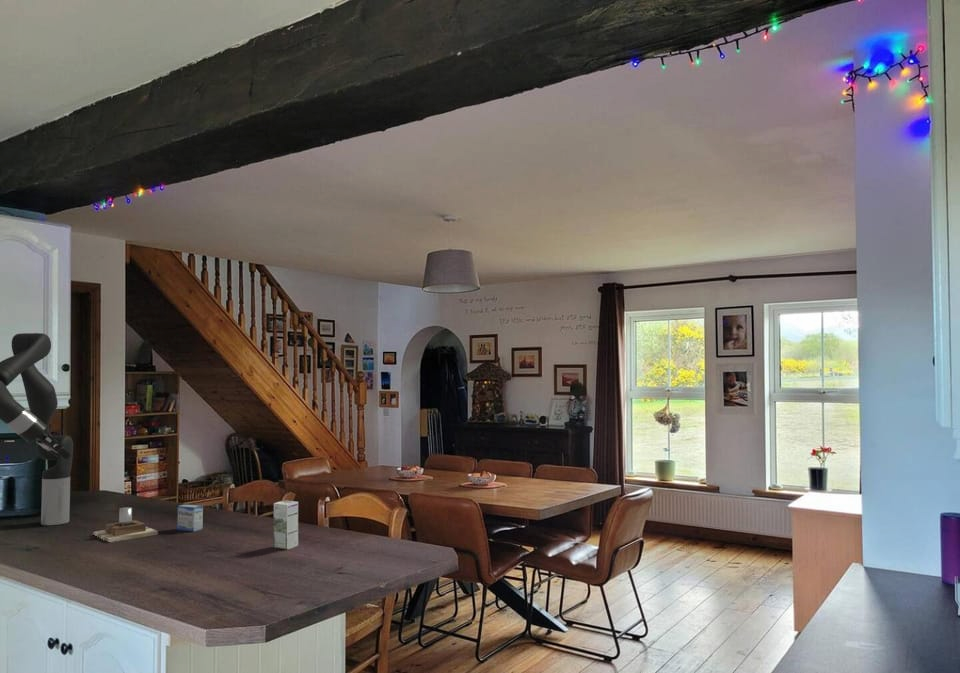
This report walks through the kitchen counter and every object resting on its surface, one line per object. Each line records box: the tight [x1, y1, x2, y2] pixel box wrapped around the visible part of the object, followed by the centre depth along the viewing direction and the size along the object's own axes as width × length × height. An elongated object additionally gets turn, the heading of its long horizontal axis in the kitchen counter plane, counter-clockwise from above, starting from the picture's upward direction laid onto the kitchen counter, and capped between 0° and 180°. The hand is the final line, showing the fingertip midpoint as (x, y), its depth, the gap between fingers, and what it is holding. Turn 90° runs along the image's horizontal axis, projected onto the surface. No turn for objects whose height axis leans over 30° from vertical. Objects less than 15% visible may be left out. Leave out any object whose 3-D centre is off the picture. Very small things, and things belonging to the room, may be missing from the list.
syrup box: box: [273, 500, 299, 550], centre depth 225 cm, size 6×6×14 cm
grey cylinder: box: [118, 506, 133, 527], centre depth 244 cm, size 4×4×8 cm
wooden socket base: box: [92, 519, 159, 543], centre depth 244 cm, size 16×16×4 cm
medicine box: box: [176, 504, 204, 533], centre depth 251 cm, size 8×4×9 cm, turn 68°
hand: (64, 456), depth 238 cm, fingers open, 8 cm apart
